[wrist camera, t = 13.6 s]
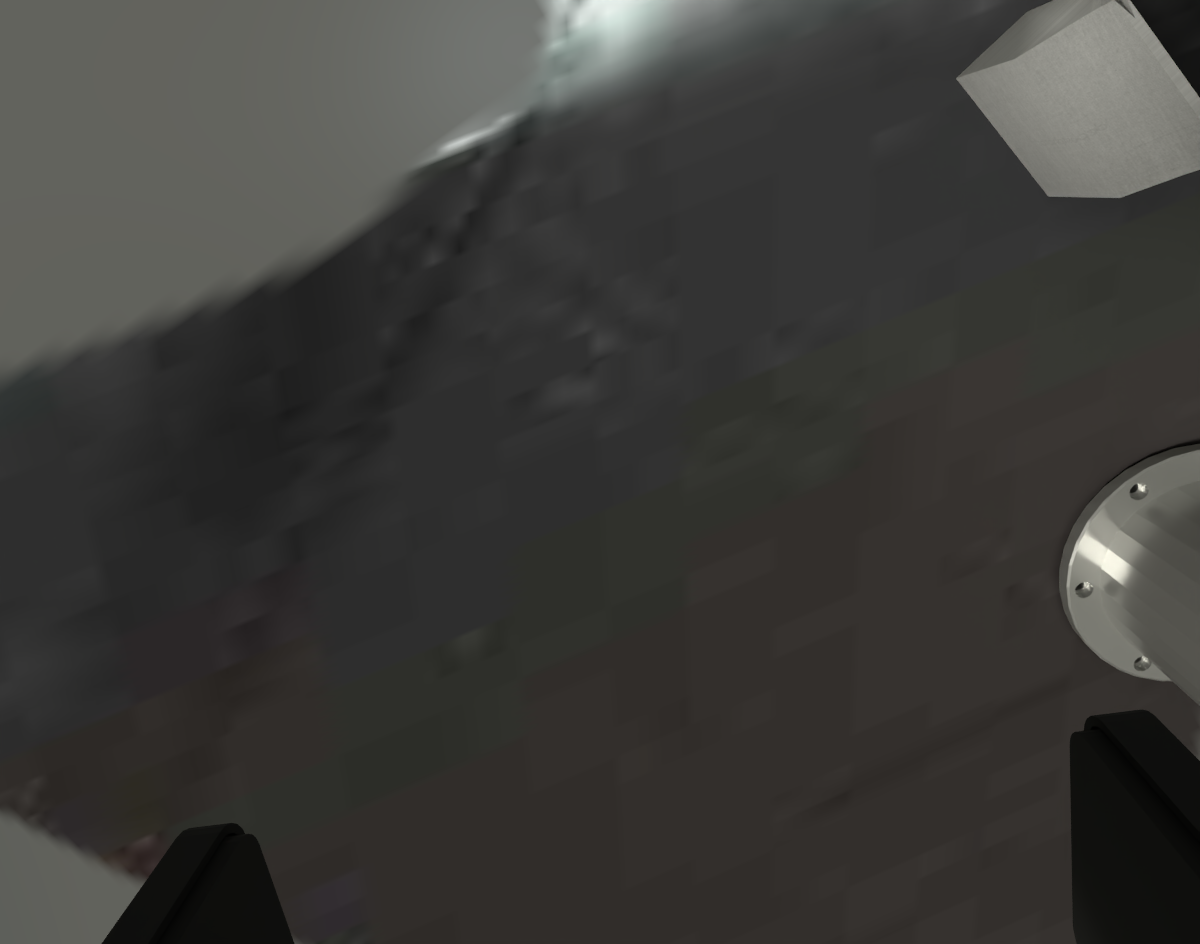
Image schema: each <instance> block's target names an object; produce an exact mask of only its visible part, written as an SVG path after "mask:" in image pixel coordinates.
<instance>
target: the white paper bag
mask: <svg viewBox="0 0 1200 944" xmlns="http://www.w3.org/2000/svg"><path fill="white" fill-rule="evenodd" d="M956 79H957V80H958V81H959V83H960V84H961V85H962V86H963V88H964V89H965V90H966V92H967V93H968V94H969V95H970V97H971V98H972V99H973V101H974V102H975V103H976V104H977V106H978V107H979V108H980V110H981V111H982V112H983V113H984V115H985V116H986V117H987V118H988V120H989V121H990V122H991V124H992V125H993V126H994V127H995V129H996V130H997V131H998V133H999V134H1000V135H1001V136H1002V138H1003V139H1004V140H1005V142H1006V143H1007V144H1008V145H1009V147H1010V148H1011V149H1012V150H1013V152H1014V153H1015V154H1016V156H1017V157H1018V158H1019V159H1020V161H1021V162H1022V163H1023V165H1024V166H1025V167H1026V168H1027V170H1028V171H1029V172H1030V174H1031V175H1032V176H1033V177H1034V179H1035V180H1036V181H1037V182H1038V184H1039V185H1040V186H1041V188H1042V189H1043V190H1044V191H1045V193H1046V194H1047V195H1048V196H1051V197H1098V198H1121V197H1124V196H1127V195H1129V194H1132V193H1135V192H1138V191H1140V190H1143V189H1146V188H1149V187H1151V186H1154V185H1157V184H1160V183H1162V182H1165V181H1168V180H1171V179H1173V178H1176V177H1179V176H1182V175H1185V174H1188V173H1191V172H1194V171H1197V170H1200V98H1199V96H1198V95H1197V93H1196V92H1195V91H1194V89H1193V88H1192V86H1191V85H1190V84H1189V82H1188V81H1187V79H1186V78H1185V77H1184V75H1183V74H1182V72H1181V71H1180V70H1179V68H1178V67H1177V65H1176V64H1175V62H1174V61H1173V60H1172V58H1171V57H1170V55H1169V54H1168V53H1167V51H1166V50H1165V48H1164V47H1163V46H1162V44H1161V43H1160V41H1159V40H1158V39H1157V37H1156V36H1155V34H1154V33H1153V32H1152V30H1151V29H1150V27H1149V26H1148V25H1147V23H1146V22H1145V20H1144V19H1143V18H1142V16H1141V15H1140V13H1139V12H1138V11H1137V9H1136V8H1135V6H1134V5H1133V4H1132V2H1131V1H1130V0H1053V1H1051V2H1049V3H1046V4H1044V5H1042V6H1039V7H1037V8H1035V9H1032V10H1030V11H1028V12H1026V13H1025V14H1024V15H1023V16H1022V17H1021V18H1020V19H1019V20H1018V21H1017V22H1016V23H1015V24H1014V25H1013V26H1012V27H1010V28H1009V29H1008V30H1007V31H1006V32H1005V33H1004V34H1003V35H1002V36H1001V37H1000V38H999V39H998V40H997V41H995V42H994V43H993V44H992V45H991V46H990V47H989V48H988V49H987V50H986V51H985V52H984V53H983V54H982V55H980V56H979V57H978V58H977V59H976V60H975V61H974V62H973V63H972V64H971V65H970V66H969V67H968V68H967V69H965V70H964V71H963V72H962V73H961V74H960V75H959V76H958V77H957V78H956Z"/></svg>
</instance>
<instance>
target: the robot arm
mask: <svg viewBox="0 0 1200 944" xmlns="http://www.w3.org/2000/svg"><path fill="white" fill-rule="evenodd" d="M1059 591H1060V595H1061V600H1062V604H1063V609H1064V612H1065V614H1066V616H1067V618H1068V620H1069V622H1070V624H1071V626H1072V628H1073V630H1074V631H1075V632H1076V633H1077V634H1078V636H1079V637H1080V638H1081V639H1082V641H1083V642H1084V643H1085V644H1086V645H1087V646H1088V647H1089V648H1090V649H1091V650H1092V651H1093V652H1095V653H1096V654H1097V655H1098V656H1099V657H1100V658H1101V659H1102V660H1104V661H1106V662H1107V663H1109V664H1110V665H1112V666H1114V667H1115V668H1117V669H1118V670H1121V671H1123V672H1126V673H1128V674H1131V675H1133V676H1137V677H1141V678H1146V679H1152V680H1158V681H1173V682H1174V683H1175V684H1176V685H1177V686H1178V687H1179V688H1181V689H1182V690H1183V691H1184V692H1185V693H1186V694H1187V695H1188V696H1189V697H1191V698H1192V699H1193V700H1194V701H1195V702H1196V703H1197V704H1198V705H1199V706H1200V444H1195V445H1189V446H1184V447H1178V448H1173V449H1171V450H1168V451H1165V452H1162V453H1159V454H1157V455H1154V456H1151V457H1148V458H1147V459H1145V460H1143V461H1141V462H1139V463H1138V464H1136V465H1134V466H1132V467H1130V468H1128V469H1127V470H1125V471H1124V472H1122V473H1121V474H1120V475H1118V476H1117V477H1116V478H1115V479H1113V480H1112V481H1111V482H1109V483H1108V484H1107V485H1106V486H1104V487H1103V488H1102V490H1101V491H1100V492H1099V493H1098V494H1097V495H1096V496H1095V497H1094V498H1093V499H1092V500H1091V501H1090V502H1089V503H1088V505H1087V506H1086V507H1085V509H1084V510H1083V512H1082V513H1081V515H1080V516H1079V518H1078V519H1077V521H1076V522H1075V524H1074V526H1073V528H1072V530H1071V532H1070V535H1069V537H1068V539H1067V542H1066V544H1065V546H1064V550H1063V555H1062V560H1061V564H1060V569H1059ZM1070 783H1071V841H1072V899H1073V929H1074V934H1075V939H1076V942H1077V944H1200V761H1199V760H1198V759H1197V758H1196V757H1195V756H1194V755H1193V754H1192V753H1191V752H1190V751H1189V750H1188V749H1187V748H1186V747H1185V746H1184V745H1183V744H1182V743H1181V742H1180V741H1179V740H1178V739H1177V738H1176V737H1175V736H1174V735H1173V734H1172V733H1171V732H1170V731H1169V730H1168V729H1167V728H1166V727H1165V726H1164V725H1163V724H1162V723H1161V722H1160V721H1159V720H1158V719H1157V718H1156V717H1155V716H1154V715H1153V714H1152V713H1150V712H1149V711H1146V710H1134V711H1126V712H1118V713H1110V714H1102V715H1094V716H1090V717H1089V718H1087V720H1086V722H1085V725H1084V731H1079V732H1074V733H1073V734H1072V735H1071V738H1070ZM102 944H294V941H293V938H292V936H291V933H290V930H289V927H288V924H287V921H286V919H285V916H284V913H283V910H282V907H281V904H280V902H279V899H278V896H277V893H276V890H275V888H274V885H273V882H272V879H271V876H270V873H269V871H268V868H267V865H266V862H265V859H264V856H263V854H262V851H261V848H260V845H259V843H258V841H257V839H256V837H254V836H253V835H252V834H245V833H244V831H243V829H242V828H241V827H240V826H239V825H238V824H234V823H228V824H220V825H212V826H204V827H196V828H189V829H187V830H184V831H183V832H182V833H181V834H180V835H179V836H178V837H177V838H176V839H175V841H174V842H173V844H172V845H171V846H170V848H169V849H168V851H167V852H166V854H165V855H164V856H163V858H162V859H161V861H160V862H159V863H158V865H157V866H156V868H155V869H154V870H153V872H152V873H151V875H150V876H149V878H148V879H147V880H146V882H145V883H144V885H143V886H142V887H141V889H140V890H139V892H138V893H137V894H136V896H135V898H134V899H133V900H132V902H131V903H130V904H129V906H128V907H127V909H126V910H125V911H124V913H123V914H122V916H121V917H120V918H119V920H118V922H117V923H116V924H115V926H114V927H113V929H112V930H111V931H110V933H109V934H108V935H107V937H106V938H105V940H104V941H103V942H102Z"/></svg>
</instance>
